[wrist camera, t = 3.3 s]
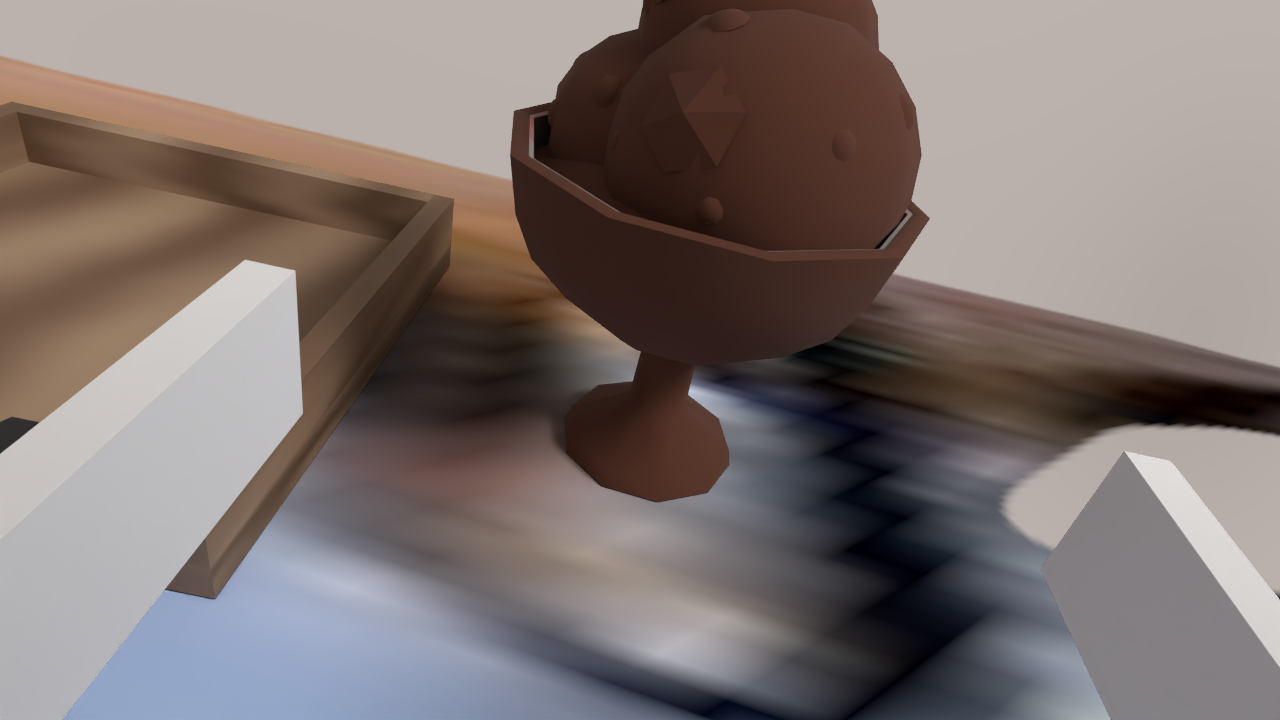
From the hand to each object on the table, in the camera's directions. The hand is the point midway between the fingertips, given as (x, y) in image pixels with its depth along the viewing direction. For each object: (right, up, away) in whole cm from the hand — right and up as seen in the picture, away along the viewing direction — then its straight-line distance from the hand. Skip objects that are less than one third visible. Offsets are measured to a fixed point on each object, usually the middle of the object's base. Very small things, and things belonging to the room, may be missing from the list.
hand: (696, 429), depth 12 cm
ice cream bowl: (-1, -2, +13) cm, 13 cm away
